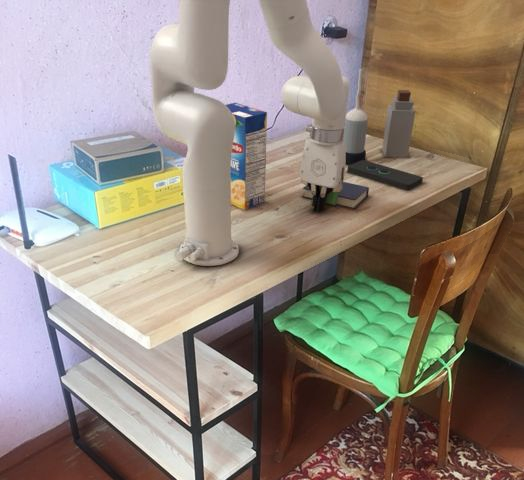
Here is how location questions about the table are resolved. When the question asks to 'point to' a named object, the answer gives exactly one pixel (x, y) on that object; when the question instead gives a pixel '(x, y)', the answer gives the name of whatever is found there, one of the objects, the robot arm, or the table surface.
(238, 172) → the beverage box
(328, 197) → the green and white eraser
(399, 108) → the perfume bottle
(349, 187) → the book
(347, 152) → the humidifier
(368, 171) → the smart home device
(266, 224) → the table surface
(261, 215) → the table surface
